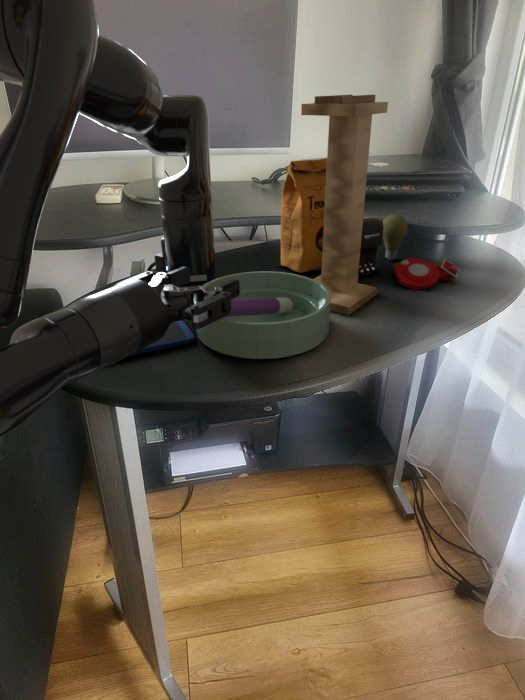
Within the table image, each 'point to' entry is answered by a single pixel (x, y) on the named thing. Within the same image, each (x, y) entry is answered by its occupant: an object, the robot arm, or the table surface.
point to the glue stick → (259, 306)
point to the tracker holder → (423, 273)
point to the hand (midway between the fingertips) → (212, 279)
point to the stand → (345, 194)
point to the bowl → (271, 317)
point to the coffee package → (303, 215)
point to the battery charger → (370, 245)
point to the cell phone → (170, 338)
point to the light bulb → (393, 234)
